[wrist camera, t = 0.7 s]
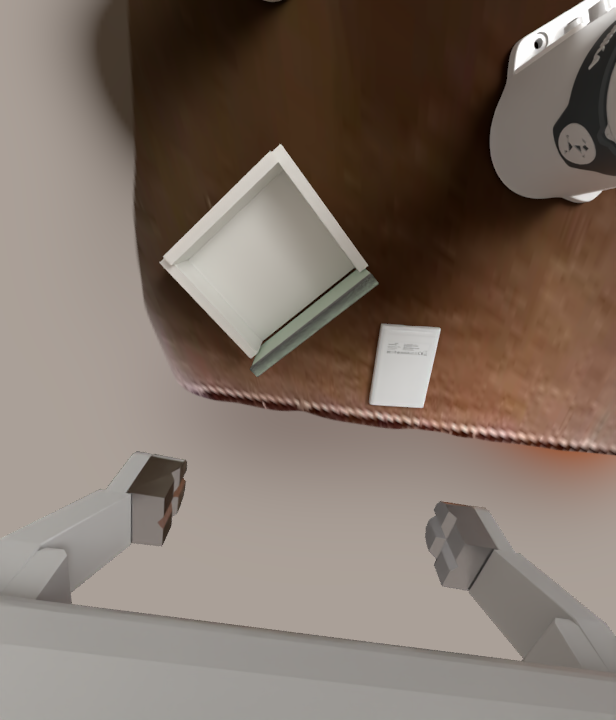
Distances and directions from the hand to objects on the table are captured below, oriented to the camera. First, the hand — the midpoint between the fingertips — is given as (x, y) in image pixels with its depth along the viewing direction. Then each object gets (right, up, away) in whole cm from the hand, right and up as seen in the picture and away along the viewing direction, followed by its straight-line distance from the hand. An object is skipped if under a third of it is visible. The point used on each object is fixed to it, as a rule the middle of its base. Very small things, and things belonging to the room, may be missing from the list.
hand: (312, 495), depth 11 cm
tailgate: (0, +11, +33) cm, 35 cm away
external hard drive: (+14, +4, +39) cm, 41 cm away
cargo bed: (-5, +17, +32) cm, 37 cm away
